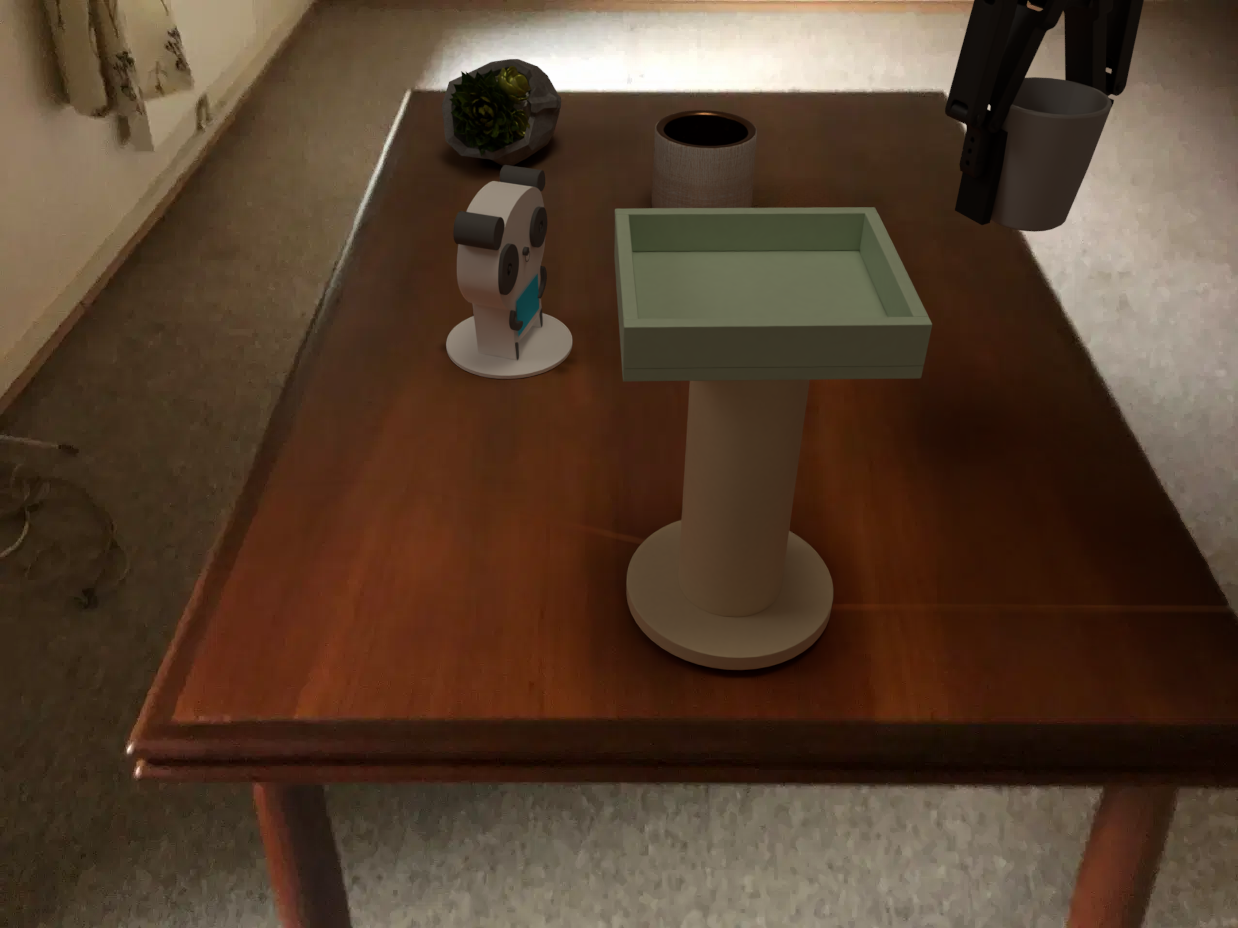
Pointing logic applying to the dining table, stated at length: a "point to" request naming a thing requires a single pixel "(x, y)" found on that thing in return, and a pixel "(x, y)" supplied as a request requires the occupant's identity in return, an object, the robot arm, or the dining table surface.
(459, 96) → the potted plant
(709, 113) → the planter
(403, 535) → the dining table surface
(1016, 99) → the cup
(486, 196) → the panda figurine
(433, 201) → the dining table surface
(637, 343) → the tray
